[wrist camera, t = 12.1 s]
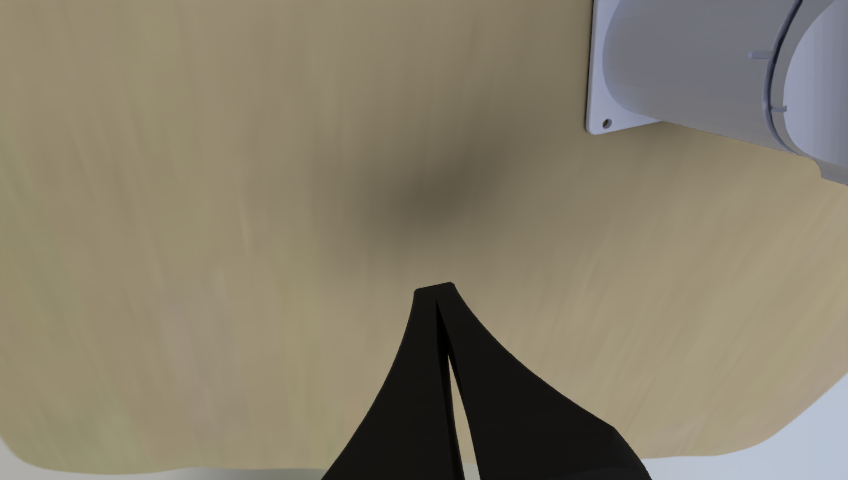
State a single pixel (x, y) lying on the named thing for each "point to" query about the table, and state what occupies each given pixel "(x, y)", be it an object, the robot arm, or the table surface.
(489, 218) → the table surface
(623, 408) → the table surface
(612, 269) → the table surface
